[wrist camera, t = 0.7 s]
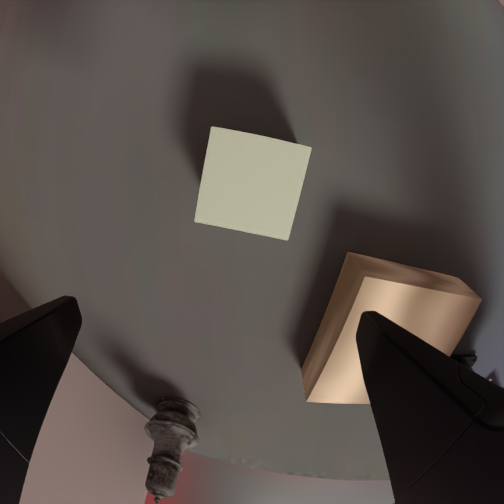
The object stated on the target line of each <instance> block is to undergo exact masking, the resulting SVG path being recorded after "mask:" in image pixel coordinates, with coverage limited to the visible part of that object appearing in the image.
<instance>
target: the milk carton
mask: <svg viewBox="0 0 504 504" xmlns="http://www.w3.org/2000/svg"><path fill="white" fill-rule="evenodd" d="M149 421H150V420H149V419H148V418H146V417H145V416H144V415H142V414H141V413H140V412H138V411H137V410H136V409H134V408H133V407H132V406H131V405H129V404H128V403H127V402H126V401H125V400H123V399H122V398H121V397H120V396H119V395H117V394H116V393H115V392H114V391H113V390H111V389H110V388H109V387H108V386H107V385H106V384H105V383H104V382H102V381H101V380H100V379H99V378H98V377H97V376H96V375H95V374H94V373H93V372H92V371H90V370H89V369H88V368H87V367H86V366H85V365H84V364H83V363H82V362H81V361H80V360H79V359H78V358H77V357H76V356H75V355H74V354H73V353H71V355H70V358H69V361H68V363H67V366H66V368H65V370H64V372H63V375H62V377H61V379H60V382H59V384H58V386H57V389H56V391H55V393H54V396H53V398H52V401H51V403H50V406H49V408H48V411H47V414H46V416H45V419H44V422H43V424H42V427H41V430H40V433H39V436H38V438H37V441H36V444H35V447H34V451H33V454H32V457H31V460H30V463H29V467H28V471H27V475H26V478H25V482H24V486H23V490H22V494H21V498H20V503H19V504H144V503H145V498H146V494H147V489H146V487H145V482H146V478H147V474H148V470H149V466H150V465H149V463H148V462H147V458H148V457H151V455H152V451H153V447H154V441H153V440H152V439H151V438H150V437H148V435H147V434H146V433H145V430H144V428H145V425H146V423H147V422H149Z"/></svg>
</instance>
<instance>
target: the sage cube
mask: <svg viewBox="0 0 504 504" xmlns="http://www.w3.org/2000/svg"><path fill="white" fill-rule="evenodd" d="M311 149H312V148H311V147H307V146H303V145H299V144H295V143H291V142H287V141H283V140H278V139H274V138H270V137H265V136H260V135H256V134H251V133H246V132H241V131H235V130H230V129H224V128H218V127H211V131H210V136H209V141H208V146H207V152H206V157H205V162H204V168H203V173H202V179H201V185H200V190H199V196H198V202H197V209H196V215H195V221H194V222H198V223H204V224H209V225H214V226H219V227H224V228H229V229H234V230H239V231H244V232H249V233H254V234H258V235H263V236H268V237H273V238H278V239H283V240H287V241H288V239H289V235H290V231H291V227H292V224H293V220H294V216H295V212H296V208H297V205H298V201H299V197H300V193H301V189H302V185H303V181H304V177H305V173H306V169H307V165H308V161H309V157H310V153H311Z"/></svg>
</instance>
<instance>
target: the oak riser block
mask: <svg viewBox="0 0 504 504" xmlns="http://www.w3.org/2000/svg"><path fill="white" fill-rule="evenodd" d="M481 300H482V299H481V298H480V297H479V296H478V295H477V294H476V293H475V292H474V291H473V290H472V289H470V288H469V287H468V286H467V285H466V284H465V283H464V282H463V281H462V280H460V279H459V278H458V277H454V276H450V275H446V274H442V273H438V272H434V271H429V270H425V269H421V268H417V267H413V266H408V265H404V264H400V263H396V262H391V261H387V260H383V259H378V258H374V257H369V256H365V255H361V254H356V253H352V252H347V254H346V257H345V260H344V263H343V266H342V269H341V272H340V274H339V277H338V280H337V283H336V285H335V288H334V291H333V293H332V296H331V299H330V301H329V304H328V306H327V309H326V311H325V314H324V316H323V319H322V321H321V324H320V326H319V329H318V331H317V334H316V336H315V338H314V341H313V343H312V346H311V348H310V350H309V353H308V355H307V357H306V359H305V362H304V364H303V366H302V368H301V372H302V378H303V384H304V390H305V396H306V402H321V403H348V404H370V401H369V397H368V394H367V391H366V387H365V384H364V380H363V375H362V370H361V364H360V359H359V354H358V349H357V344H356V331H357V328H358V324H359V321H360V317H361V314H362V313H363V312H364V311H377V312H378V313H380V314H381V315H383V316H385V317H386V318H388V319H390V320H391V321H393V322H394V323H396V324H398V325H399V326H401V327H403V328H404V329H406V330H407V331H409V332H411V333H412V334H414V335H416V336H417V337H419V338H420V339H422V340H424V341H425V342H427V343H428V344H430V345H432V346H433V347H435V348H436V349H438V350H440V351H441V352H443V353H444V354H446V355H448V356H449V357H450V355H451V354H452V352H453V350H454V349H455V347H456V346H457V344H458V342H459V341H460V339H461V337H462V336H463V334H464V332H465V330H466V329H467V327H468V325H469V323H470V321H471V320H472V318H473V316H474V314H475V312H476V310H477V308H478V306H479V304H480V302H481Z"/></svg>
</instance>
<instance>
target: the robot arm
mask: <svg viewBox="0 0 504 504" xmlns="http://www.w3.org/2000/svg"><path fill="white" fill-rule="evenodd" d="M81 325H82V317H81V313H80V310H79V306H78V303H77V300H76V298H75V297H72V296H62V297H60V298H57V299H55V300H53V301H50V302H48V303H46V304H43V305H41V306H39V307H36V308H34V309H32V310H29V311H27V312H25V313H22V314H20V315H18V316H16V317H13V318H11V319H9V320H7V321H4V322H2V323H0V504H19V503H20V498H21V494H22V490H23V486H24V482H25V478H26V475H27V471H28V467H29V463H30V460H31V457H32V454H33V451H34V447H35V444H36V441H37V438H38V436H39V433H40V430H41V427H42V424H43V422H44V419H45V416H46V414H47V411H48V408H49V406H50V403H51V401H52V398H53V396H54V393H55V391H56V389H57V386H58V384H59V382H60V379H61V377H62V375H63V372H64V370H65V368H66V366H67V363H68V361H69V358H70V355H71V353H72V350H73V347H74V344H75V341H76V339H77V336H78V333H79V330H80V328H81ZM356 344H357V349H358V354H359V359H360V364H361V370H362V375H363V380H364V384H365V387H366V391H367V394H368V397H369V401H370V404H371V408H372V411H373V415H374V418H375V422H376V426H377V429H378V433H379V437H380V440H381V444H382V448H383V452H384V456H385V460H386V464H387V468H388V473H389V477H390V481H391V486H392V490H393V495H394V499H395V504H504V388H502V387H500V386H498V385H496V384H495V382H494V381H493V380H492V381H489V380H487V379H485V378H484V377H482V376H480V375H478V374H477V373H475V372H474V371H473V369H472V368H471V367H472V366H473V364H474V363H475V362H476V360H477V356H476V355H450V357H449V356H448V355H446V354H444V353H443V352H441V351H440V350H438V349H436V348H435V347H433V346H432V345H430V344H428V343H427V342H425V341H424V340H422V339H420V338H419V337H417V336H416V335H414V334H412V333H411V332H409V331H407V330H406V329H404V328H403V327H401V326H399V325H398V324H396V323H394V322H393V321H391V320H390V319H388V318H386V317H385V316H383V315H381V314H380V313H378V312H377V311H364V312H363V313H362V314H361V317H360V321H359V324H358V328H357V331H356Z"/></svg>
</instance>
